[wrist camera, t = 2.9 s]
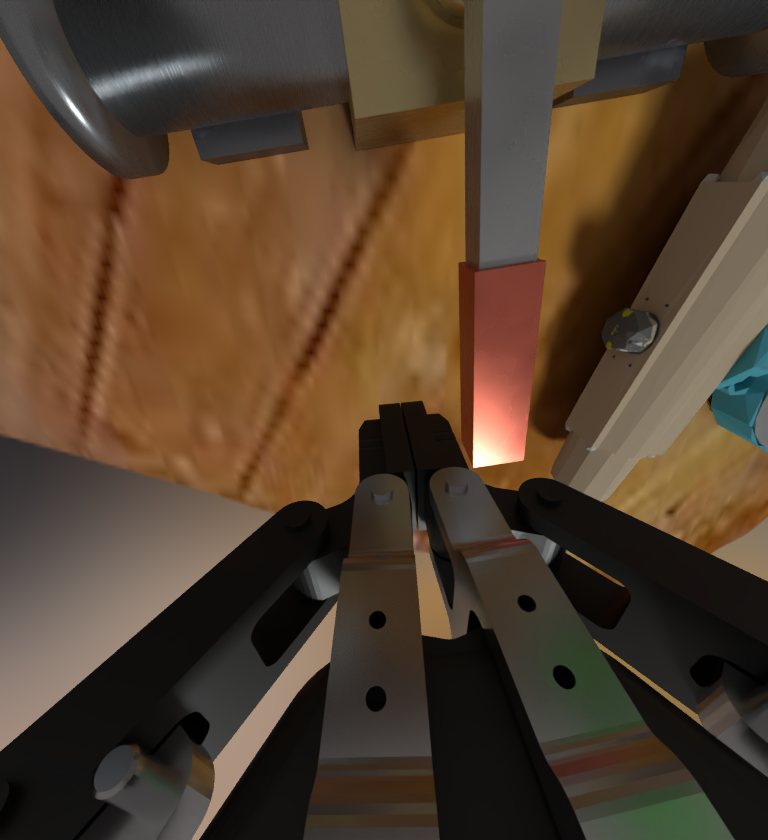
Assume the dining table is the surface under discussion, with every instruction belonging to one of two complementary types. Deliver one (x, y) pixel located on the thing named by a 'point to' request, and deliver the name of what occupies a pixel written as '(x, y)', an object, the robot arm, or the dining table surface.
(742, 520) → the dining table surface
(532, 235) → the valve lever
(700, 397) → the butterfly valve
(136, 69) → the pipe valve
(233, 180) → the dining table surface
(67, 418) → the dining table surface
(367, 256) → the dining table surface
